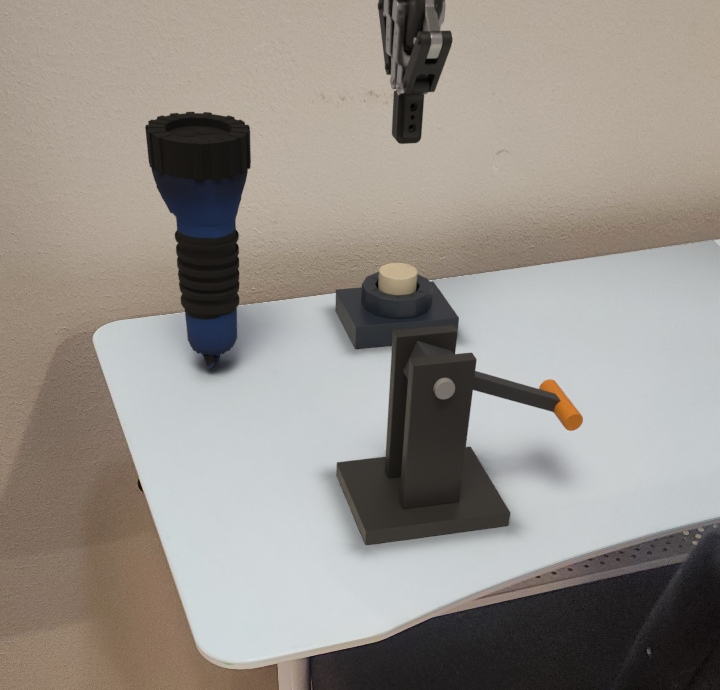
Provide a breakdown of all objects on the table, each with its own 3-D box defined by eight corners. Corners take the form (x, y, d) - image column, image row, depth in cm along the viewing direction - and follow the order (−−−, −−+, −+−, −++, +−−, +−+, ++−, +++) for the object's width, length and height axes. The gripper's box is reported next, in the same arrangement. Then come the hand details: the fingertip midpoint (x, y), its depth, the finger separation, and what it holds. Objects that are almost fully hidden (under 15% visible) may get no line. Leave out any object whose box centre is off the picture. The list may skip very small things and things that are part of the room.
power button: (410, 279, 96) (411, 261, 94) (421, 295, 93) (422, 277, 92) (373, 282, 95) (374, 264, 94) (383, 298, 92) (384, 280, 91)
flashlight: (249, 339, 94) (238, 106, 80) (269, 380, 88) (261, 139, 74) (163, 349, 92) (137, 112, 78) (178, 392, 86) (153, 146, 72)
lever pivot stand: (469, 458, 80) (488, 307, 71) (508, 525, 74) (535, 369, 65) (336, 474, 78) (339, 320, 69) (365, 545, 72) (372, 385, 63)
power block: (431, 302, 100) (435, 263, 98) (457, 339, 95) (461, 299, 92) (335, 310, 98) (335, 271, 96) (355, 349, 93) (356, 308, 90)
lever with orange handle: (547, 403, 76) (563, 375, 75) (573, 438, 72) (590, 410, 71) (397, 361, 70) (410, 330, 69) (417, 397, 67) (432, 365, 65)
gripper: (500, -98, 69) (473, 165, 81) (442, -125, 78) (425, 114, 90) (397, -98, 68) (384, 170, 80) (349, -126, 77) (344, 118, 89)
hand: (406, 140), depth 85 cm, fingers closed
